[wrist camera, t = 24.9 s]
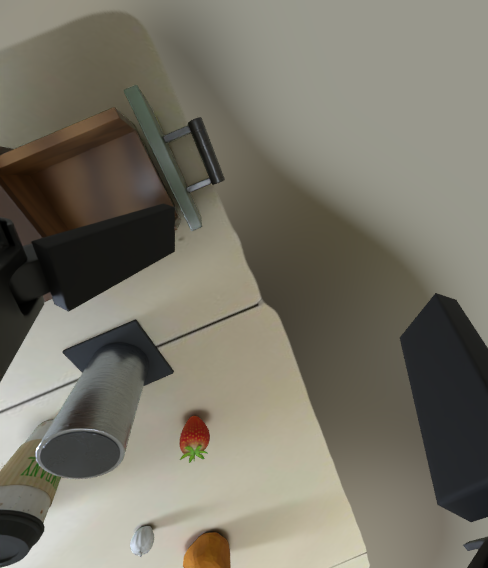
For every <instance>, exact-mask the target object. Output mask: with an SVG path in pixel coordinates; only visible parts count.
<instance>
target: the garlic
mask: <svg viewBox="0 0 488 568" xmlns="http://www.w3.org/2000/svg"><path fill="white" fill-rule="evenodd" d="M153 542H154V533H153V531H152V528H151V527H150V526H144V527H141V528H139V529H138V530H137V531H136V532H135V534H134V536H133V537H132V540H131V544H130V547H131V550H132V552H133V553H134V554H135V555H139V556H140V557H141V556H142V555H143V554H146V553H148V552H149V550H150V549H151V547H152V545H153Z"/></svg>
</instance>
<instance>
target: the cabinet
mask: <svg viewBox="0 0 488 568" xmlns="http://www.w3.org/2000/svg"><path fill="white" fill-rule="evenodd" d="M11 150H14V149H12V148H6V147H0V155H2V154H4V153H6V152H9V151H11ZM0 217H3V218H7V219H10V220H11V221H12V222H13V223H14V226H15V228H16V231H17V233H18V236H19V238H20V241H21V243H22V246H25V245H28V244H32V243H31V241H33V240H37V239H40V238H44V237H47V235H46V234H45V233H44V231H43V230H42V229H41V227H40V226H39V225H38V224H37V222H36V221H35V220H34V219H33V217H32V216H31V215H30V214H29V212H28V211H27V210H26V208H25V207H24V206H23V205H22V203H21V202H20V201H19V200H18V198H17V197H16V196H15V194H14V193H13V192H12V191H11V189H10V188H9V187H8V186H7V184H6V183H5V182H4V180H3V179H2V178H1V177H0ZM43 298H44V300H45V301H44V302H46V301H48V300H50V299H53V298H52V296H51V293H50V292H49V293H47V294H45V295H43Z"/></svg>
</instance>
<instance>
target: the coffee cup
mask: <svg viewBox="0 0 488 568" xmlns="http://www.w3.org/2000/svg"><path fill="white" fill-rule="evenodd" d="M53 421H54V420H50V421H46V422H43V423H41V424H40V425H39V426H38V427H37V428H36V429H35V430H34V432H33V433H32V434H31V435H30V437H29V438H28V439H27V440H26V442H25V443H24V444H23V445H21V446H20V447H19V449H18V450H17V451H16V452H15V453H14V455H13V456H12V457H11V458H10V460H9V461H8V462H7V463H6V464H5V466H4V467H3V468H2V469H1V471H0V567H4V566H8V565H11V564H14V563H16V562H18V561H20V560H21V559H23V558H24V557H25V556H26V555H27V554H28V552H29V551H30V549H31V548H32V546H33V545H35V544H36V543H37V542H38V540H39V539H40V537H41V536H42V534H43V532H44V524H43V523H44V520H45V517H46V514H47V512H48V509H49V507H50V506H51V504H52V501H53V498H54V496H55V493H56V490H57V487H58V484H59V481H60V479H61V477H59V476H56V475H53V474H51V473H49V472H47V471H46V470H44V469H43V468H42V467H41V466H40V465H39V464H38V462H37V460H36V450H37V447H38V446H39V444H40V442H41V441H42V439H43V437H44V436H45V434H46V432H47V431H48V429H49V427H50V426H51V424H52V422H53Z"/></svg>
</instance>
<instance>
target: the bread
mask: <svg viewBox="0 0 488 568" xmlns="http://www.w3.org/2000/svg"><path fill="white" fill-rule="evenodd" d="M183 567H184V568H230V549H229V544H228V541H227V540H226V539H225V538H224V537H223V536H221V535H220V534H219V533H216V532H212V533H205V534H203V535H201V536H199V537H198V539H197V540H196V541H195V542H194V543H193V544H192V545H191V546H190V547H189V549H188V550H187V552H186V554H185V556H184V561H183Z"/></svg>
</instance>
